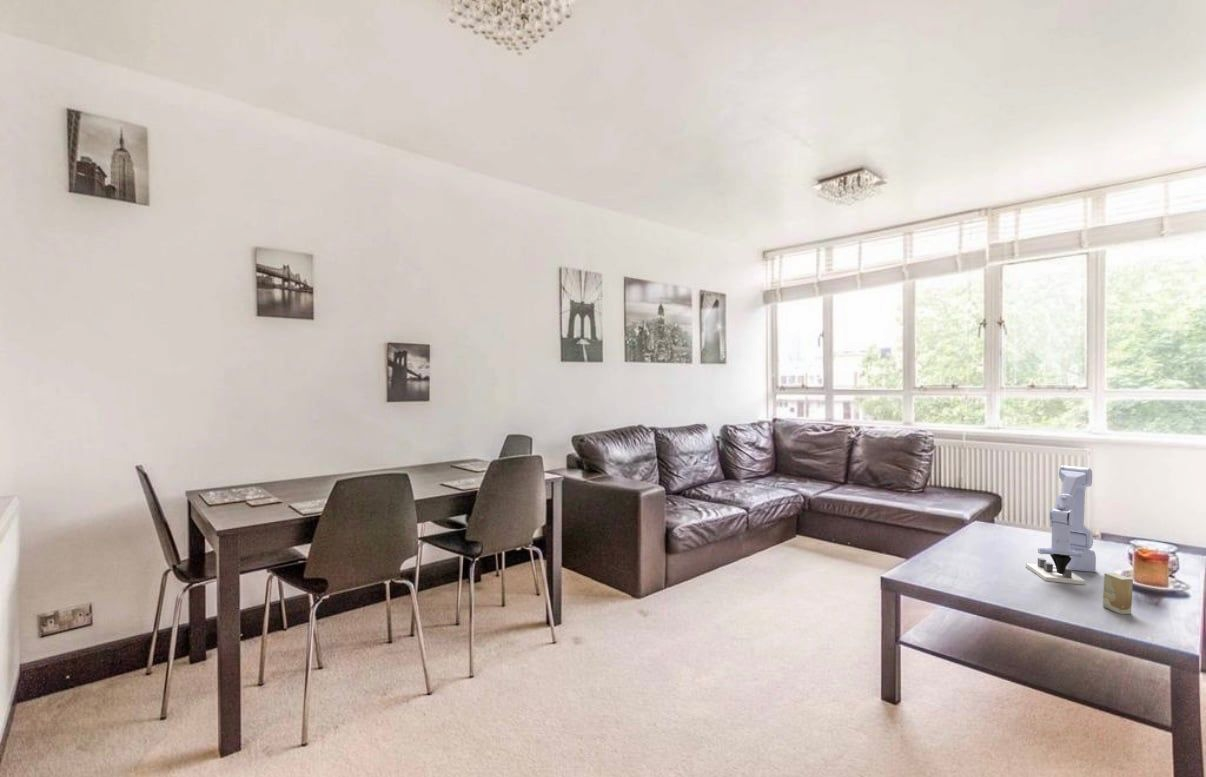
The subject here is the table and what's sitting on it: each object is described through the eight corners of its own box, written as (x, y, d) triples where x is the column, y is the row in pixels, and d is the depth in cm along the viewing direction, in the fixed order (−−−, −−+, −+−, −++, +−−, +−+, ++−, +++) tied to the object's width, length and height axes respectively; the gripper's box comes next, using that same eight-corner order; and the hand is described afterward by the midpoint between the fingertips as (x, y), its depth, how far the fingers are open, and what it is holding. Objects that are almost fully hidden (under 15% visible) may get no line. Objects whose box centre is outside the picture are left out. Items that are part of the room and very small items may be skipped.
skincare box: (1102, 606, 189) (1102, 572, 188) (1113, 606, 189) (1114, 572, 189) (1121, 614, 182) (1121, 579, 182) (1132, 614, 183) (1133, 578, 182)
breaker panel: (1062, 570, 226) (1062, 559, 226) (1085, 584, 210) (1085, 572, 210) (1025, 566, 230) (1026, 555, 230) (1045, 580, 213) (1045, 568, 213)
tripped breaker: (1068, 575, 215) (1068, 567, 215) (1071, 577, 212) (1071, 569, 212) (1062, 574, 215) (1062, 567, 215) (1065, 577, 213) (1065, 569, 213)
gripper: (1044, 540, 213) (1043, 574, 213) (1088, 544, 208) (1088, 578, 208) (1035, 535, 219) (1035, 568, 220) (1078, 539, 215) (1078, 572, 215)
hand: (1060, 573), depth 214 cm, fingers closed
